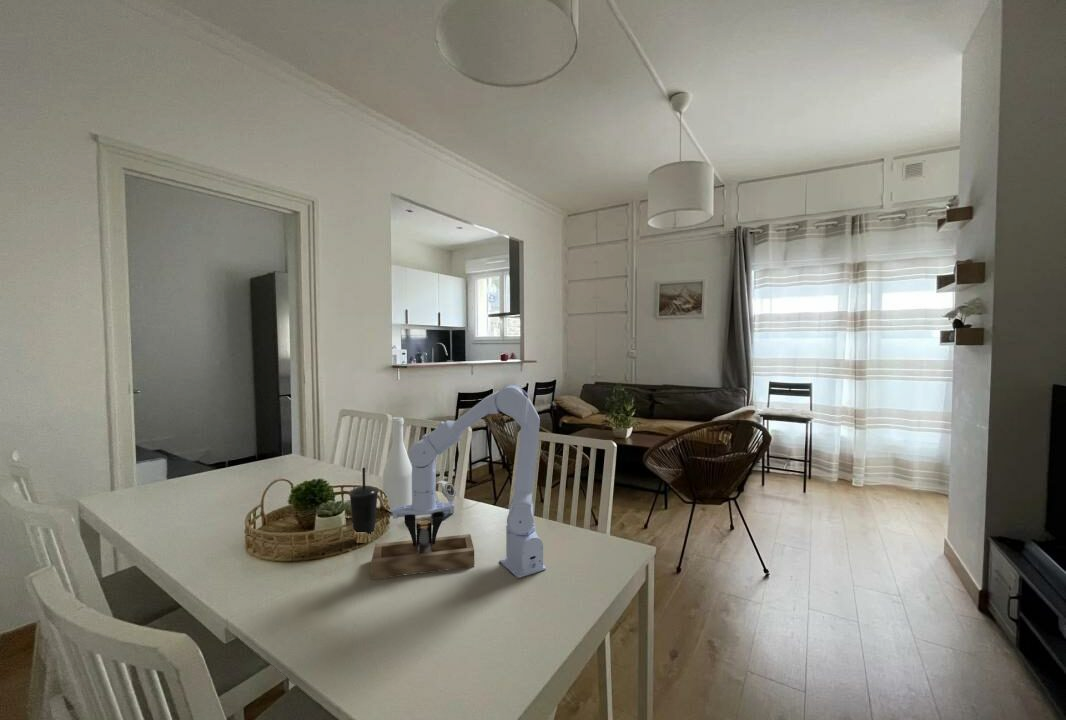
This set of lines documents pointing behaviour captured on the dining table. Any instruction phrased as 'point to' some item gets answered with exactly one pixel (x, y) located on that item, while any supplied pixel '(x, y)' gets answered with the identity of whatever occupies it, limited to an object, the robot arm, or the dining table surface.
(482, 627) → the dining table surface
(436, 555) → the trough
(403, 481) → the wine bottle
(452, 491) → the watch
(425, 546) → the battery cell
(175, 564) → the dining table surface
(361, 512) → the drinking cup
